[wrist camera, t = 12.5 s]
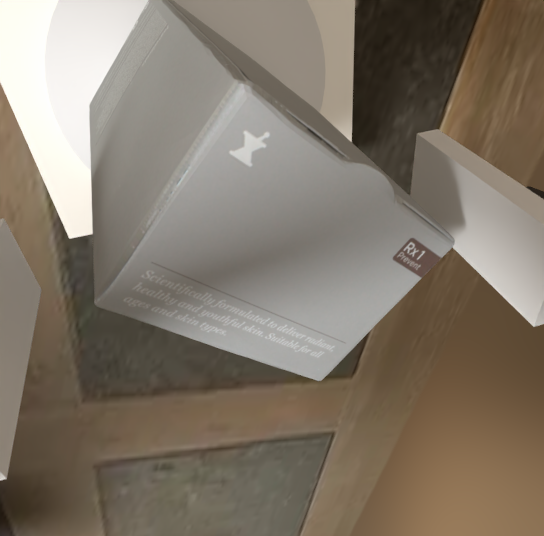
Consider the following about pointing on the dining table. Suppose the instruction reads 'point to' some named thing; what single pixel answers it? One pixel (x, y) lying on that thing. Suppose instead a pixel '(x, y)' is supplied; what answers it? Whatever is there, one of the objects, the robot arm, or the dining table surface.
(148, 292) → the skincare box
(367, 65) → the dining table surface
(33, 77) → the scale
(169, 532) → the dining table surface
